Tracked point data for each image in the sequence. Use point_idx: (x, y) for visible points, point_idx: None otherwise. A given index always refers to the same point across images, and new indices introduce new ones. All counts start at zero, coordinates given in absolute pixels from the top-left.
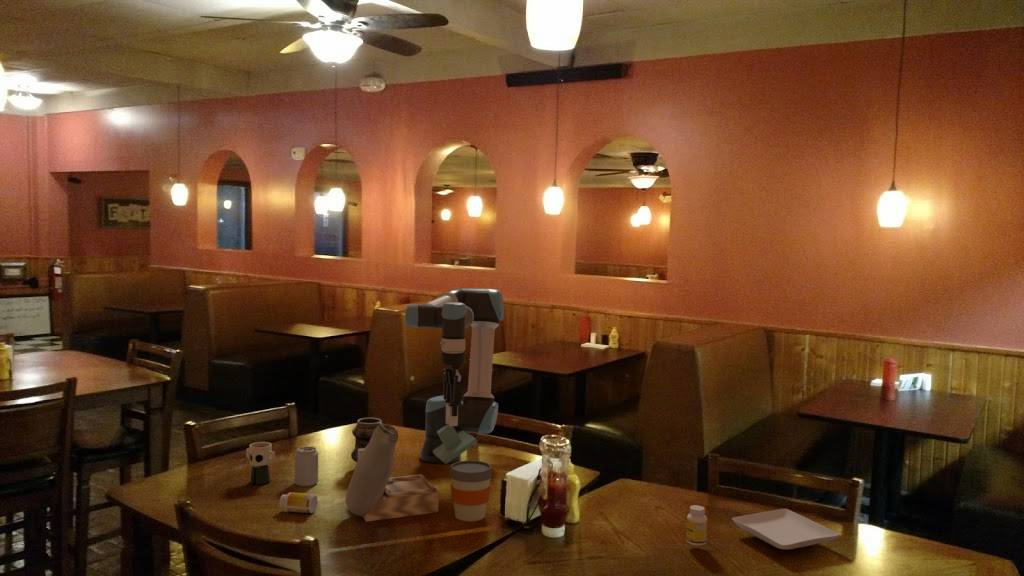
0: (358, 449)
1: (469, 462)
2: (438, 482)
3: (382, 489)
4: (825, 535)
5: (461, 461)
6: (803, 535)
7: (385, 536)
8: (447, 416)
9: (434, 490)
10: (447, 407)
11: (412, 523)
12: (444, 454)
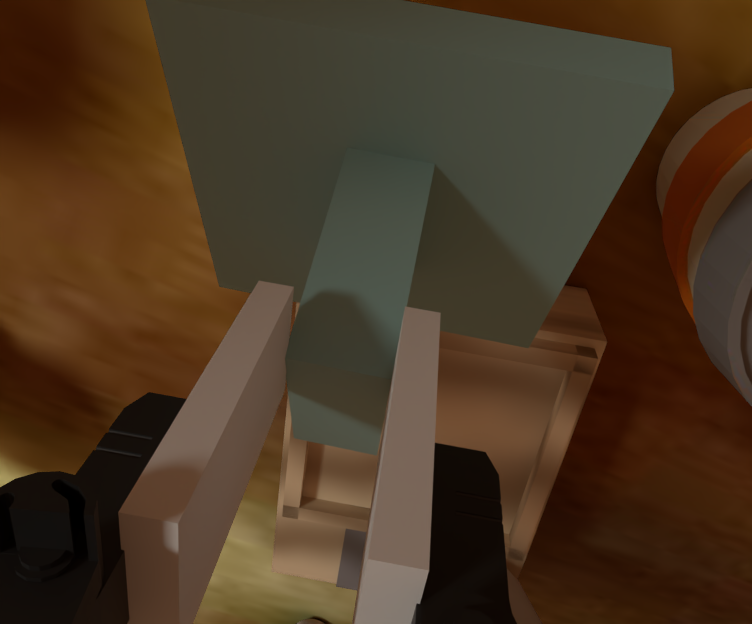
0: None
1: None
2: (149, 60)
3: (536, 614)
4: None
5: (741, 308)
6: None
7: (675, 549)
8: (255, 449)
9: (593, 365)
10: (204, 576)
11: (630, 433)
12: (442, 308)
